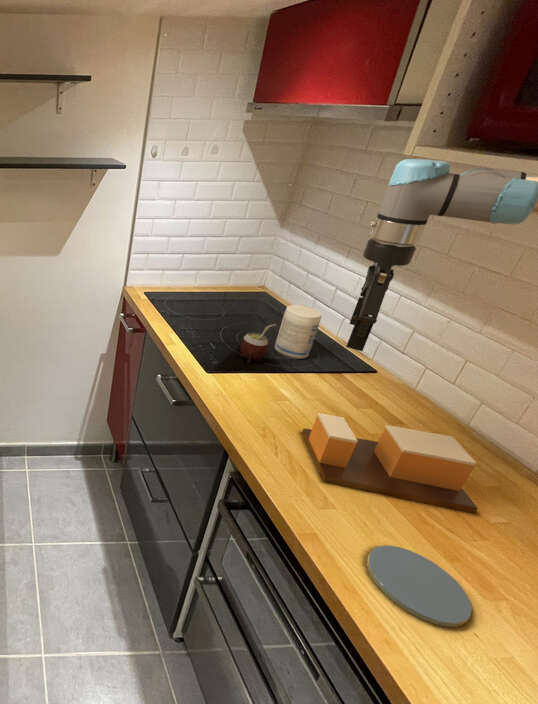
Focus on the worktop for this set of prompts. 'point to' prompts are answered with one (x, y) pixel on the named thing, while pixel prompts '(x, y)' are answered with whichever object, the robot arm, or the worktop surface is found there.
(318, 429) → the cake slice
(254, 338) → the mate gourd
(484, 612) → the worktop surface
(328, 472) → the serving board
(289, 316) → the supplement tub
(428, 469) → the loaf cake
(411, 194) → the robot arm
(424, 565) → the plate
